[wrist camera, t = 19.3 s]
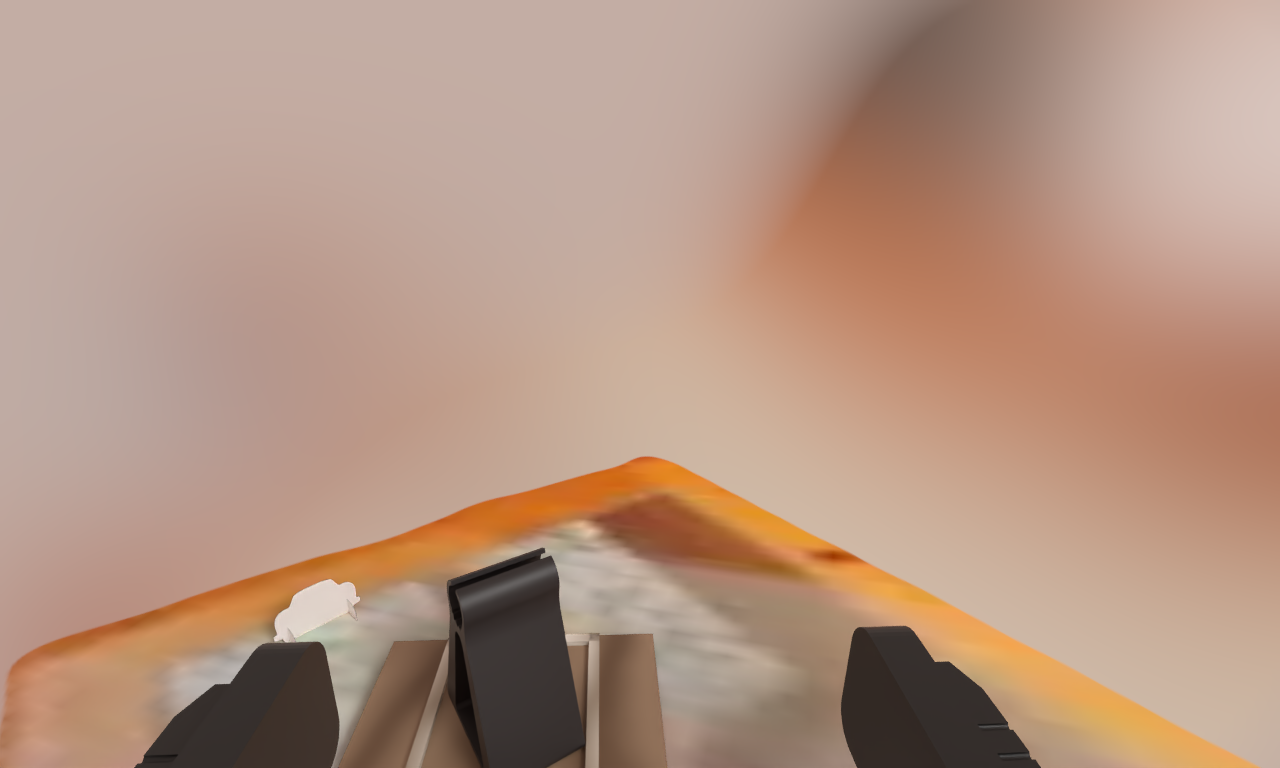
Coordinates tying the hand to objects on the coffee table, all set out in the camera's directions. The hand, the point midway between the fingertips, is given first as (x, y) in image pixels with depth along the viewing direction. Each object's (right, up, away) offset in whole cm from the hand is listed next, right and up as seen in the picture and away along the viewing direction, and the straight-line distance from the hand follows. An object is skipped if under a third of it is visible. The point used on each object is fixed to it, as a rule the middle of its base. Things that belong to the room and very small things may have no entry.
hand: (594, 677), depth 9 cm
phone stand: (-8, -18, +30) cm, 36 cm away
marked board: (-8, -19, +31) cm, 37 cm away
